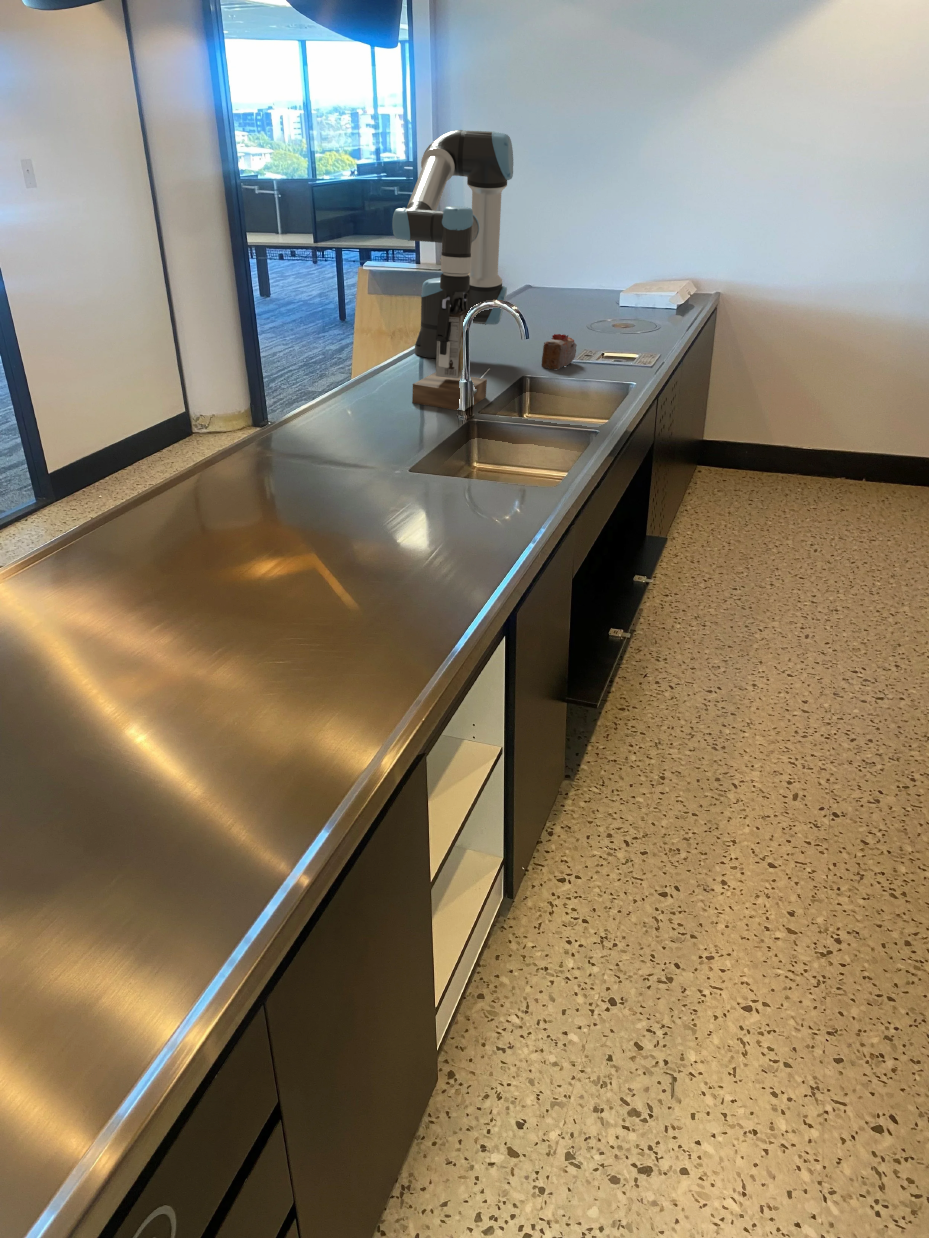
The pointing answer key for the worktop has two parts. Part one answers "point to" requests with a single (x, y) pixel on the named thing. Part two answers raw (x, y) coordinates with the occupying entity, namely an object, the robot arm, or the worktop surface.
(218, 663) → the worktop surface
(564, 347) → the food item
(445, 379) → the walnut base
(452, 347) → the coffee box
